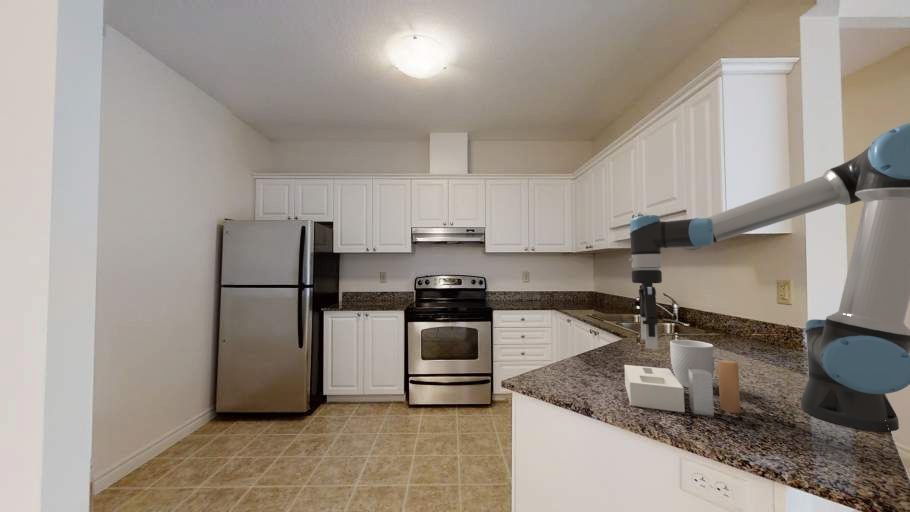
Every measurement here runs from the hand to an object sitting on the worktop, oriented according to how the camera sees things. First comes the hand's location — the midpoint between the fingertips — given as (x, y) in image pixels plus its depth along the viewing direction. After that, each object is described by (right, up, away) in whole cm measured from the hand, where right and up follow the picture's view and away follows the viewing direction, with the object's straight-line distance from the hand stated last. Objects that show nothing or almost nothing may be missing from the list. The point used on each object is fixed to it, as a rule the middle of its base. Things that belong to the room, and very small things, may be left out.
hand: (649, 343), depth 95 cm
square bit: (+7, -14, -11) cm, 19 cm away
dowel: (+15, -14, -10) cm, 23 cm away
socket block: (0, -15, -1) cm, 15 cm away
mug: (+18, -15, +6) cm, 25 cm away
